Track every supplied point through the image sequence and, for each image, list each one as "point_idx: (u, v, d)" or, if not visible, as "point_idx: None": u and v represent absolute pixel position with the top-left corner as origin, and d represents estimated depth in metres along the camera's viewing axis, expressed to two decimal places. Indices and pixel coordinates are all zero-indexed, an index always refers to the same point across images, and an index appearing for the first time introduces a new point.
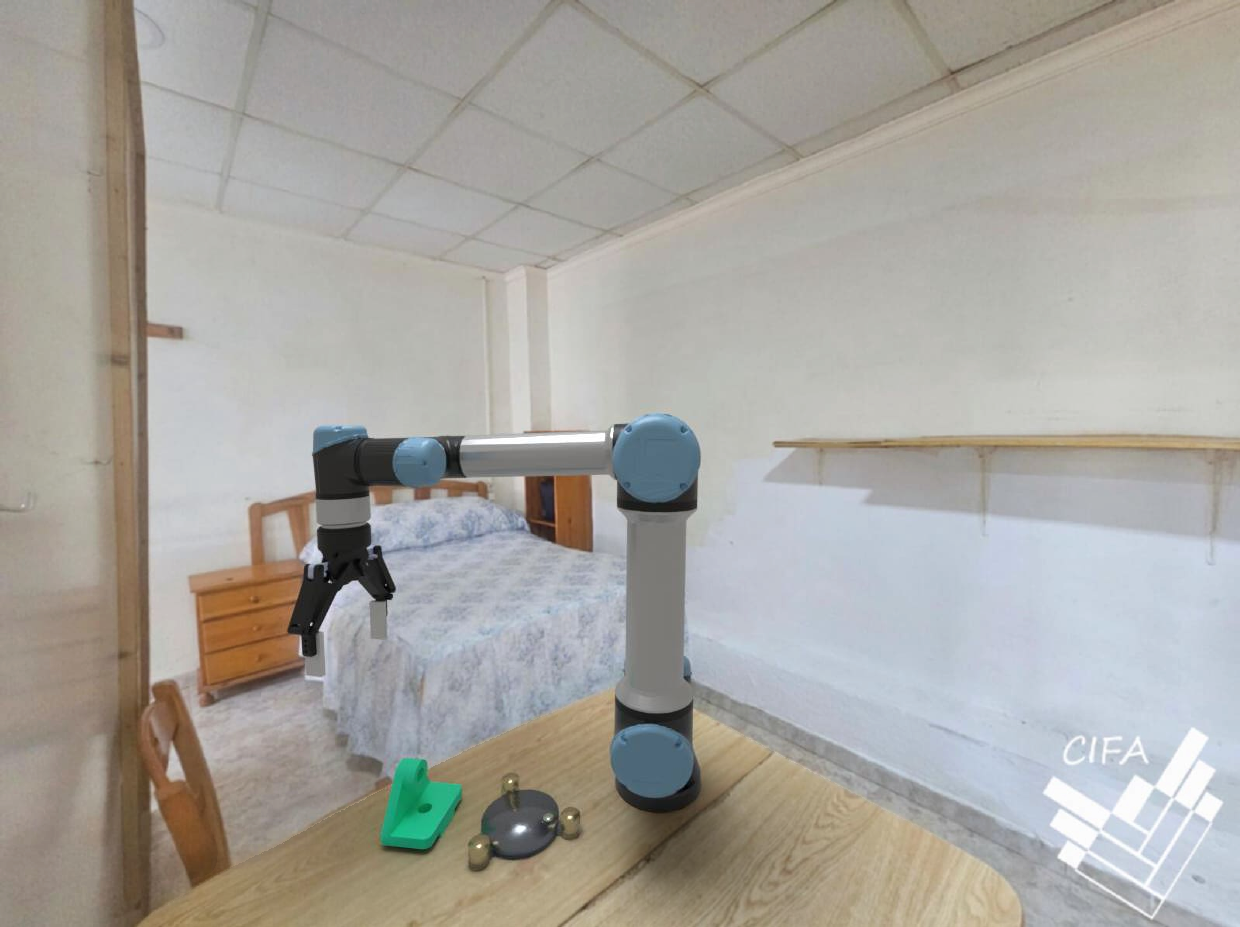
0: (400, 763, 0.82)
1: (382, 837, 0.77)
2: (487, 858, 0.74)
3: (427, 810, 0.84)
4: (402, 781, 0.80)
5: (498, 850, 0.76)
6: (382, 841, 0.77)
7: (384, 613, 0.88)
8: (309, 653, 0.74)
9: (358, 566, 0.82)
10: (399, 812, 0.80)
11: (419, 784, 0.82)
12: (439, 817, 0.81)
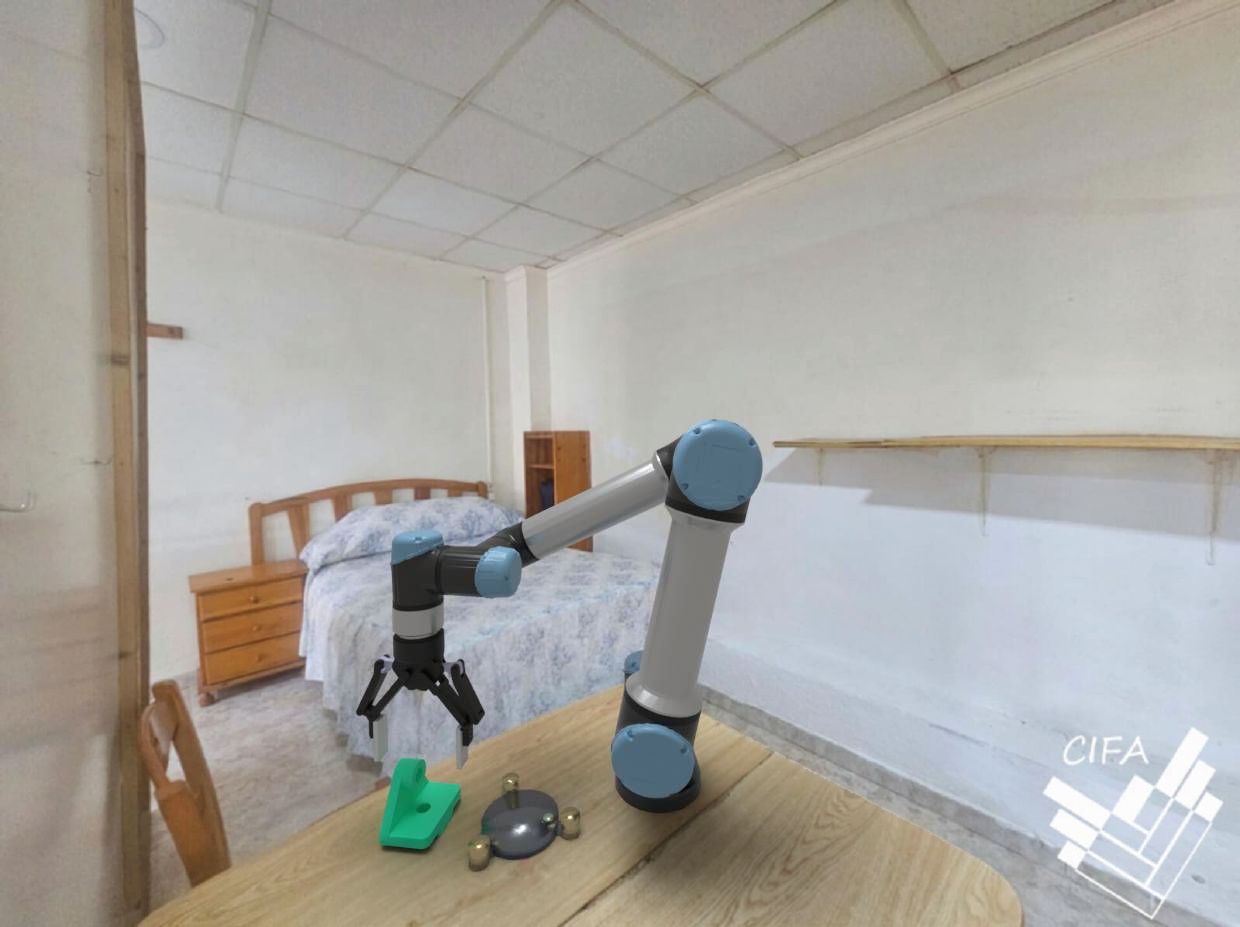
0: (398, 763, 0.82)
1: (380, 837, 0.77)
2: (487, 858, 0.74)
3: (426, 810, 0.84)
4: (400, 781, 0.80)
5: (498, 850, 0.76)
6: (380, 841, 0.77)
7: (457, 741, 0.80)
8: (369, 734, 0.82)
9: None
10: (398, 811, 0.80)
11: (417, 784, 0.82)
12: (438, 817, 0.81)
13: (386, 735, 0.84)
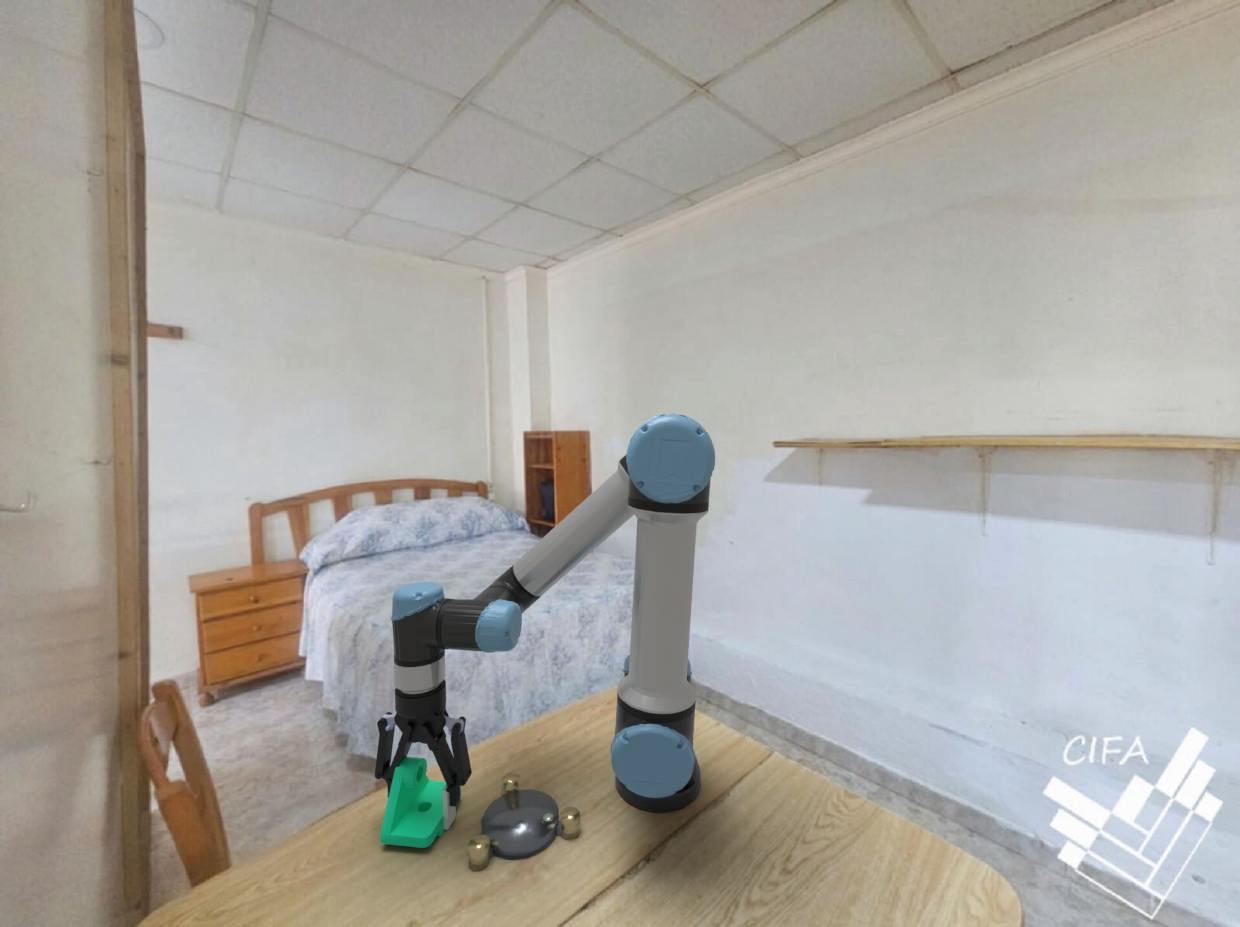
0: None
1: (381, 836, 0.77)
2: (487, 858, 0.74)
3: (426, 809, 0.84)
4: (401, 780, 0.80)
5: (498, 850, 0.76)
6: (381, 840, 0.77)
7: (444, 801, 0.81)
8: (388, 796, 0.83)
9: None
10: (399, 810, 0.80)
11: (418, 783, 0.82)
12: (439, 816, 0.81)
13: None
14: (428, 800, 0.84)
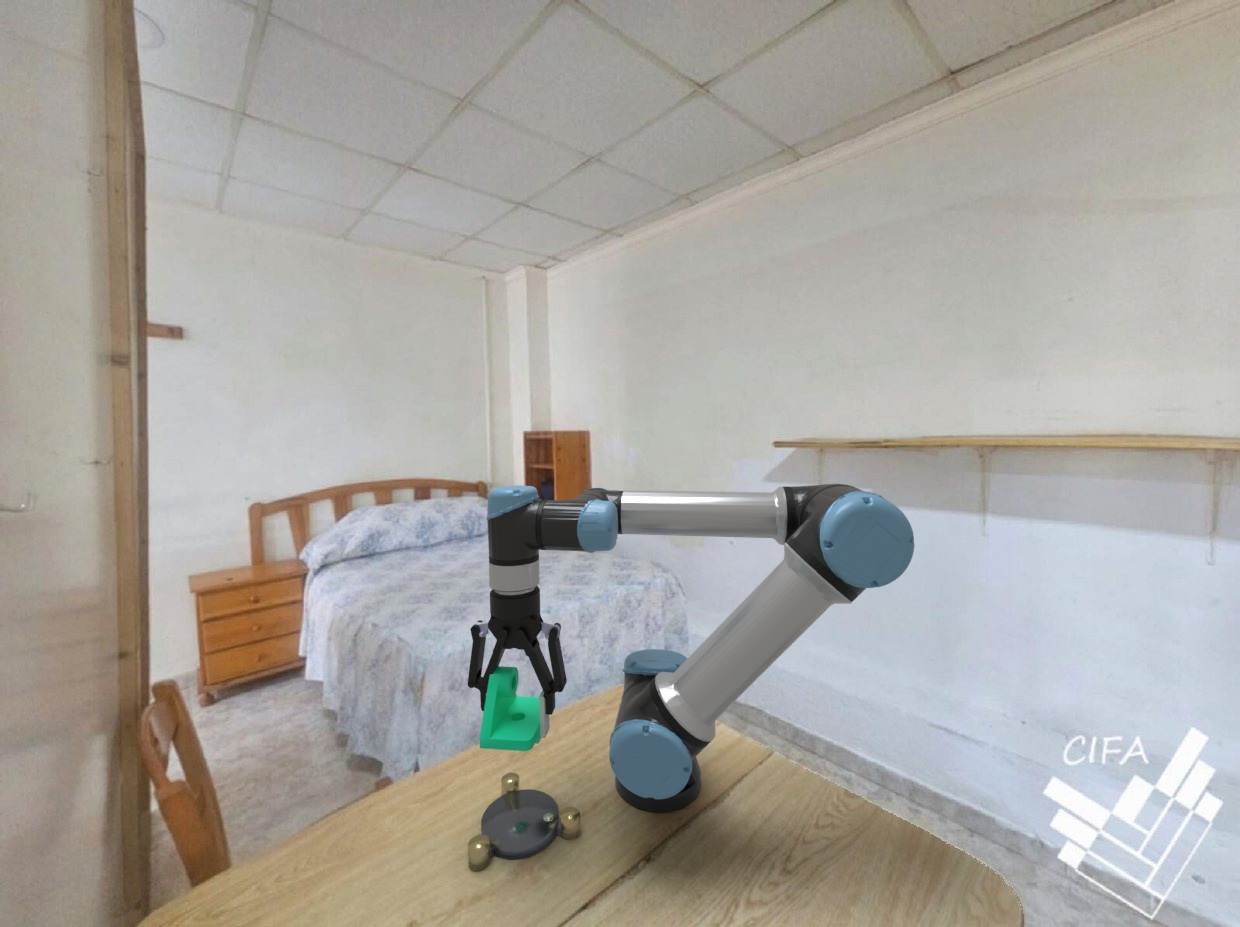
0: None
1: (481, 740, 0.75)
2: (487, 858, 0.74)
3: (519, 720, 0.81)
4: (497, 686, 0.78)
5: (498, 850, 0.76)
6: (481, 744, 0.75)
7: (541, 709, 0.78)
8: None
9: (517, 635, 0.78)
10: (496, 717, 0.77)
11: (512, 691, 0.79)
12: (536, 723, 0.78)
13: None
14: (520, 711, 0.82)
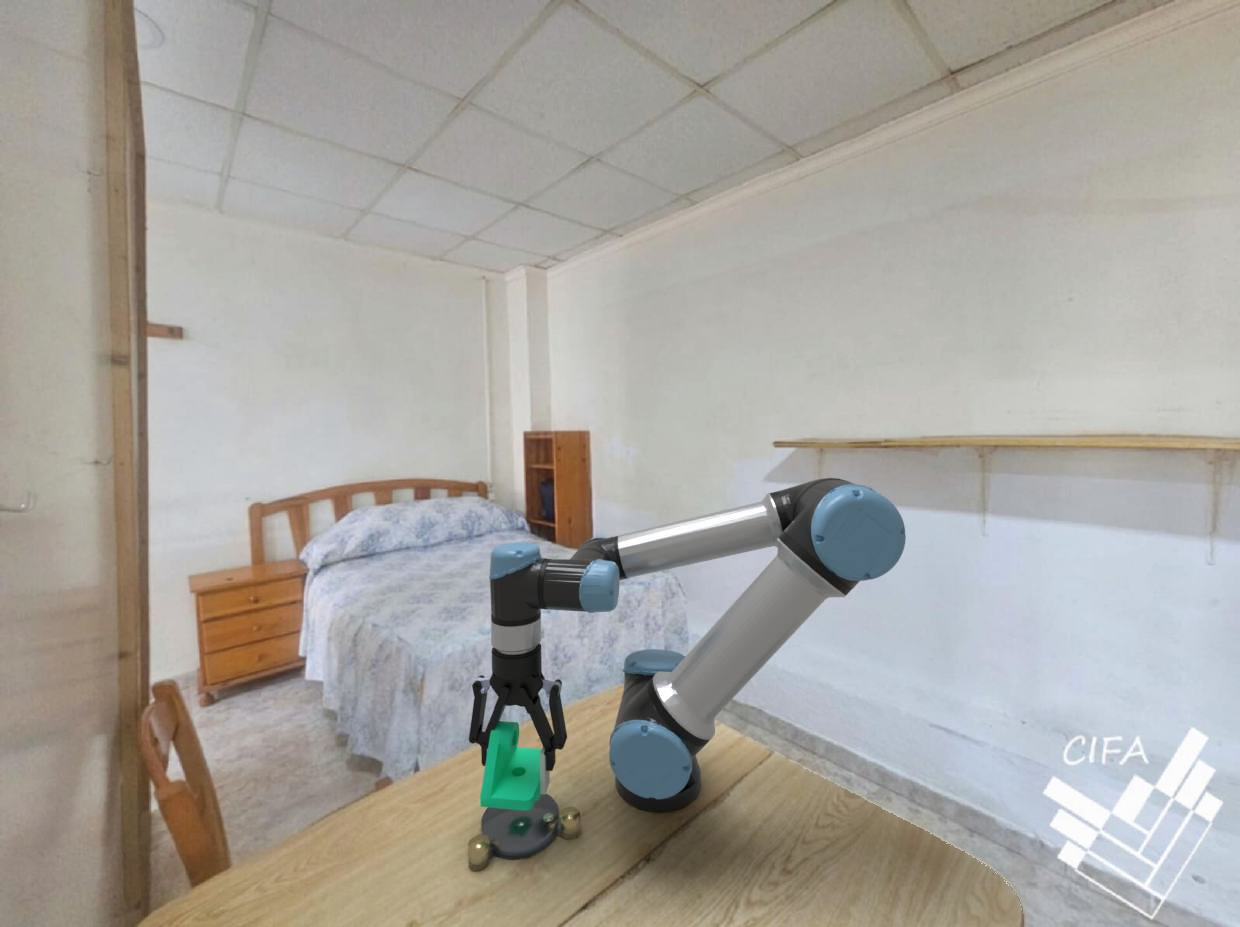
0: None
1: (482, 799, 0.75)
2: (487, 858, 0.74)
3: (519, 774, 0.82)
4: (498, 743, 0.79)
5: (498, 850, 0.76)
6: (482, 803, 0.75)
7: (541, 766, 0.79)
8: None
9: (519, 693, 0.78)
10: (496, 774, 0.78)
11: (513, 747, 0.80)
12: (536, 780, 0.79)
13: None
14: (521, 765, 0.82)
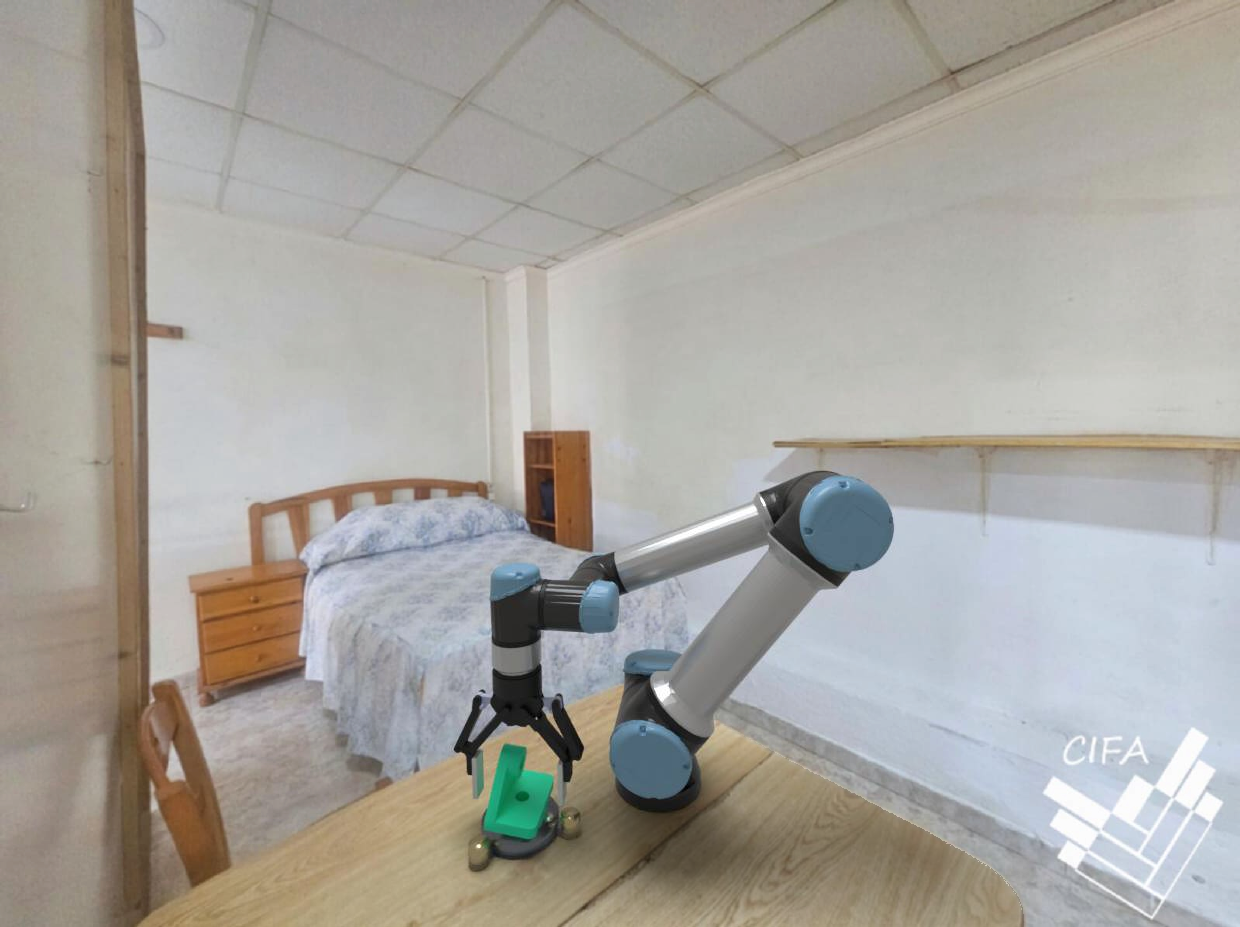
0: (503, 748, 0.80)
1: (486, 822, 0.76)
2: (487, 858, 0.74)
3: (522, 798, 0.82)
4: (506, 767, 0.79)
5: (498, 850, 0.76)
6: (485, 826, 0.76)
7: (559, 777, 0.79)
8: None
9: (521, 714, 0.79)
10: (501, 798, 0.78)
11: (520, 772, 0.80)
12: (539, 807, 0.79)
13: (482, 771, 0.83)
14: (524, 789, 0.83)
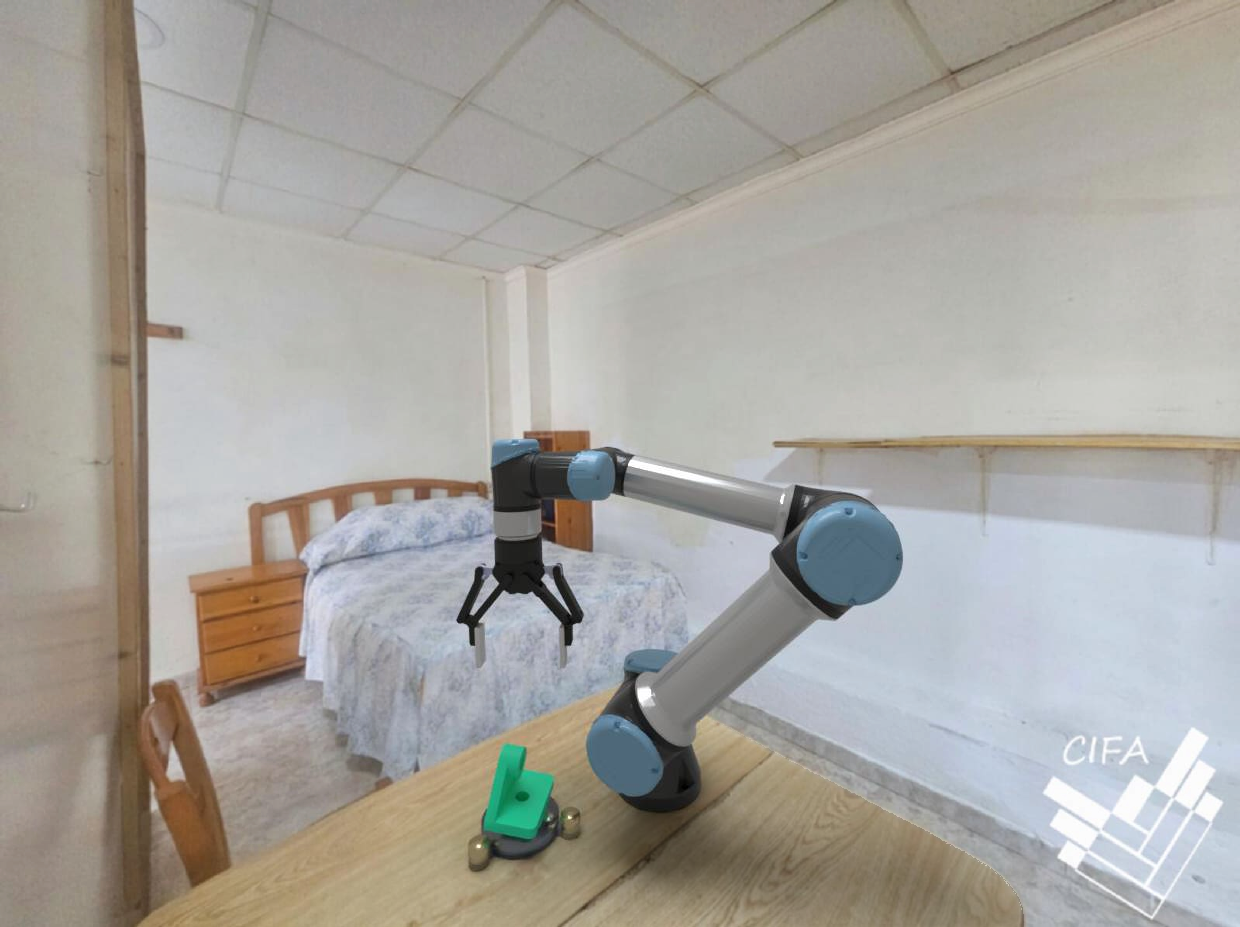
0: (503, 748, 0.80)
1: (486, 822, 0.76)
2: (487, 858, 0.74)
3: (522, 798, 0.82)
4: (506, 767, 0.79)
5: (498, 850, 0.76)
6: (485, 826, 0.76)
7: (561, 640, 0.82)
8: (469, 641, 0.83)
9: (523, 581, 0.81)
10: (502, 798, 0.78)
11: (520, 772, 0.80)
12: (539, 807, 0.79)
13: (484, 644, 0.85)
14: (524, 789, 0.83)
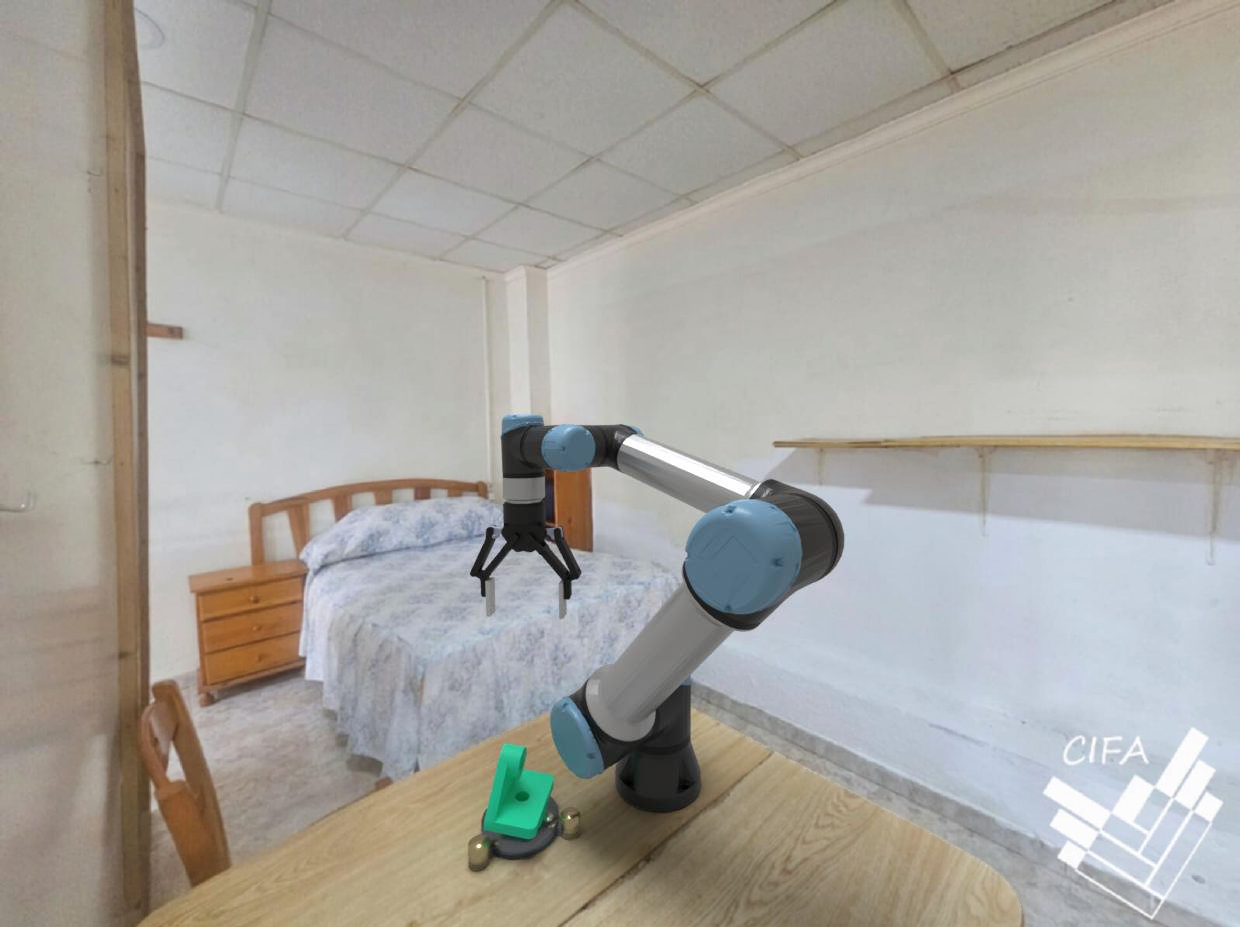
0: (503, 748, 0.80)
1: (486, 822, 0.76)
2: (487, 858, 0.74)
3: (522, 798, 0.82)
4: (506, 767, 0.79)
5: (498, 850, 0.76)
6: (485, 826, 0.76)
7: (560, 594, 0.92)
8: (481, 593, 0.95)
9: None
10: (502, 798, 0.78)
11: (520, 772, 0.80)
12: (539, 807, 0.79)
13: (494, 596, 0.96)
14: (524, 789, 0.83)
